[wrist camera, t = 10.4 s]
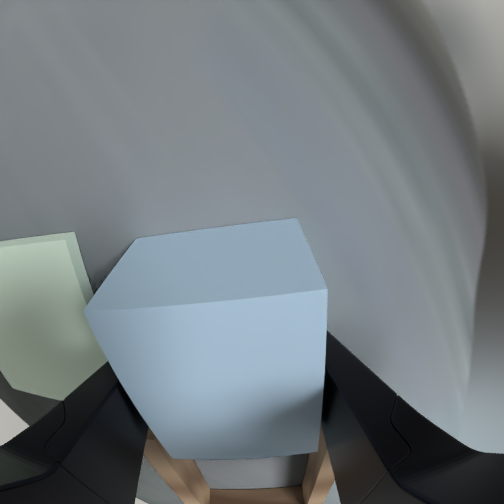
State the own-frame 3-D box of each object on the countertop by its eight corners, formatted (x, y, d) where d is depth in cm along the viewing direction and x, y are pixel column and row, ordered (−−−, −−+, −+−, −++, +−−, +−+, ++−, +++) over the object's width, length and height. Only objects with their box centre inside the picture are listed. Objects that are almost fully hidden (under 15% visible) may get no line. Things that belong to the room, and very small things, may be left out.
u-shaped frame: (314, 487, 17) (317, 512, 15) (199, 492, 17) (197, 516, 15) (344, 388, 11) (356, 431, 9) (142, 396, 11) (130, 436, 9)
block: (303, 371, 11) (317, 451, 8) (185, 381, 11) (172, 458, 8) (296, 217, 8) (327, 289, 5) (136, 238, 8) (83, 310, 5)
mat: (140, 402, 12) (137, 412, 11) (17, 380, 12) (12, 388, 11) (74, 231, 8) (64, 239, 8) (-49, 249, 8) (-57, 255, 8)
